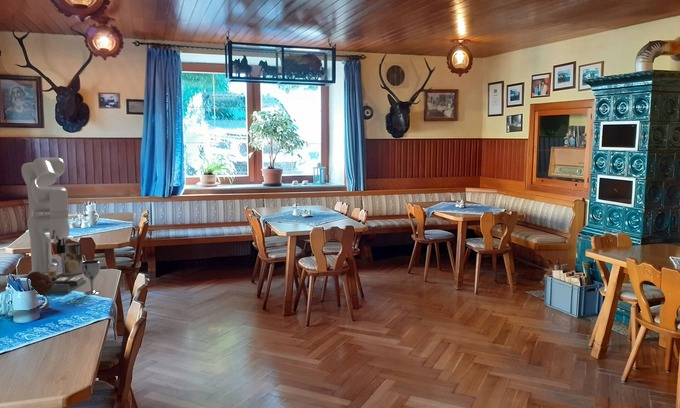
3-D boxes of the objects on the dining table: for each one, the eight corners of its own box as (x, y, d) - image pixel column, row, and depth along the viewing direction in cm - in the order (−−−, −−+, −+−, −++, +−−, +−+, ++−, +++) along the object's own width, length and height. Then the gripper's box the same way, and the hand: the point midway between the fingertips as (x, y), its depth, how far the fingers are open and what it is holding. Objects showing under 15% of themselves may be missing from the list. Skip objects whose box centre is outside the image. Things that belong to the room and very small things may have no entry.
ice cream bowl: (45, 308, 223) (43, 274, 221) (19, 308, 223) (17, 274, 222) (59, 301, 234) (57, 268, 232) (34, 300, 234) (32, 268, 232)
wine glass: (104, 290, 251) (103, 260, 249) (95, 295, 243) (94, 264, 241) (89, 290, 251) (87, 259, 250) (79, 294, 244) (77, 263, 242)
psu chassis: (55, 282, 264) (54, 267, 263) (85, 282, 264) (85, 267, 263) (35, 293, 245) (35, 277, 244) (68, 293, 246) (67, 277, 245)
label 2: (73, 278, 260) (73, 277, 260) (80, 278, 260) (80, 277, 260) (68, 280, 255) (68, 280, 255) (76, 280, 256) (76, 280, 255)
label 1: (61, 278, 260) (61, 277, 260) (68, 278, 260) (68, 277, 260) (56, 280, 255) (56, 280, 255) (63, 280, 255) (63, 280, 255)
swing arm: (48, 269, 258) (48, 263, 257) (57, 268, 259) (57, 262, 259) (47, 278, 242) (47, 271, 241) (57, 277, 244) (57, 270, 243)
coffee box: (79, 270, 287) (78, 242, 285) (83, 273, 283) (81, 244, 281) (61, 273, 281) (60, 244, 279) (64, 275, 277) (63, 246, 275)
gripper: (58, 212, 251) (60, 249, 253) (42, 216, 236) (44, 256, 238) (74, 212, 251) (76, 249, 254) (59, 217, 237) (61, 256, 239)
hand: (61, 252), depth 246 cm, fingers closed
